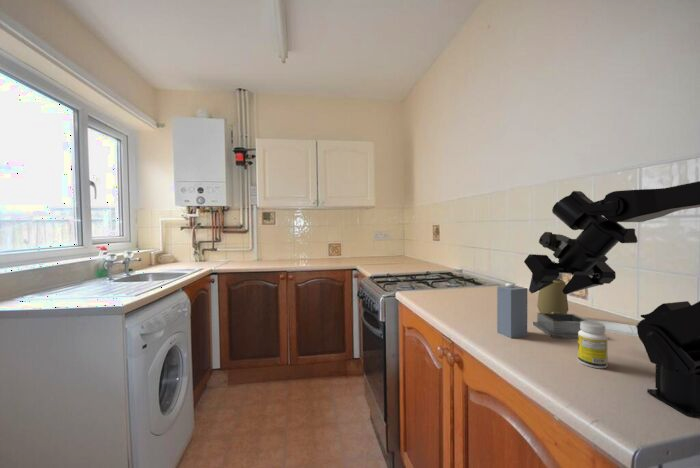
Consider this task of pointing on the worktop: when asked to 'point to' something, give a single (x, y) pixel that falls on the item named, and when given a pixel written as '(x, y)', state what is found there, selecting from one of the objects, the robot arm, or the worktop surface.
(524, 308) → the grey tall block
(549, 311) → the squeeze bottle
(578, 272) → the robot arm
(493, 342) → the worktop surface
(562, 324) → the pocket plate
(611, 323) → the hard drive
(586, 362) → the supplement bottle
